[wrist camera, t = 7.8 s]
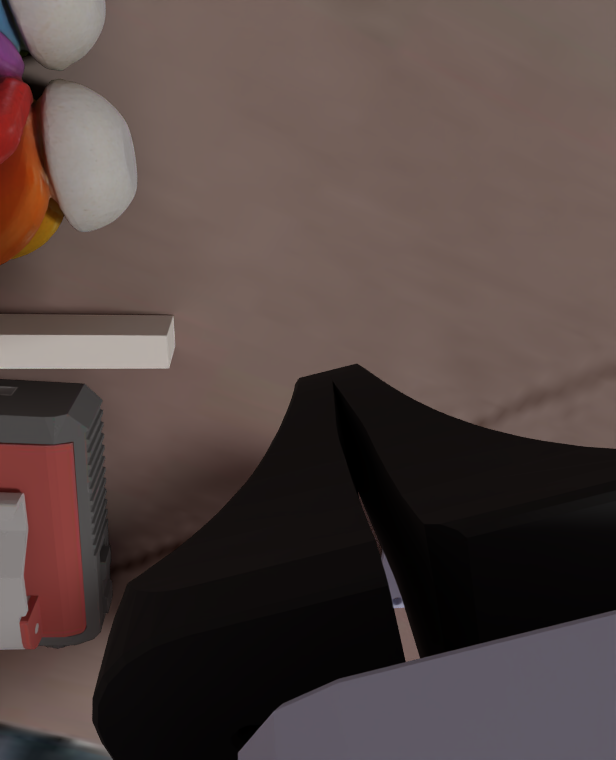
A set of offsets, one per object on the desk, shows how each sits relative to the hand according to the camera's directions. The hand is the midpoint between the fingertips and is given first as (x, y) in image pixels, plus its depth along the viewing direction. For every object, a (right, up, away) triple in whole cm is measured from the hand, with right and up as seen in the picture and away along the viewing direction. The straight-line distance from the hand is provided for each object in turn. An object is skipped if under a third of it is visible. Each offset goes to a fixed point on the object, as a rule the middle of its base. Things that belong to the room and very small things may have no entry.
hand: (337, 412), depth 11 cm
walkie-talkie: (-14, -7, +13) cm, 20 cm away
